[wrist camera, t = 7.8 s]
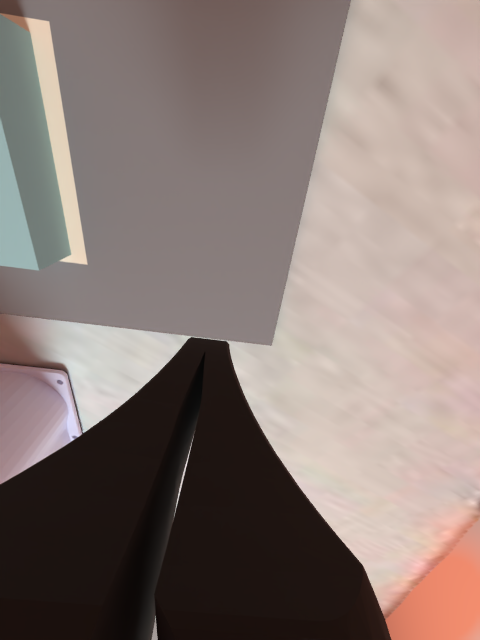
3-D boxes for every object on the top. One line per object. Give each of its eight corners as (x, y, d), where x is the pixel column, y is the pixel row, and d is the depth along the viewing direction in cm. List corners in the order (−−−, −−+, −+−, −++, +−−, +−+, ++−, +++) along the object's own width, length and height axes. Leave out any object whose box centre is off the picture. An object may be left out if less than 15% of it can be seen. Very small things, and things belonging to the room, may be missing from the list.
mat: (270, 341, 20) (271, 345, 20) (-88, 298, 19) (-96, 301, 19) (366, -80, 10) (371, -90, 10) (-363, -222, 9) (-392, -240, 9)
